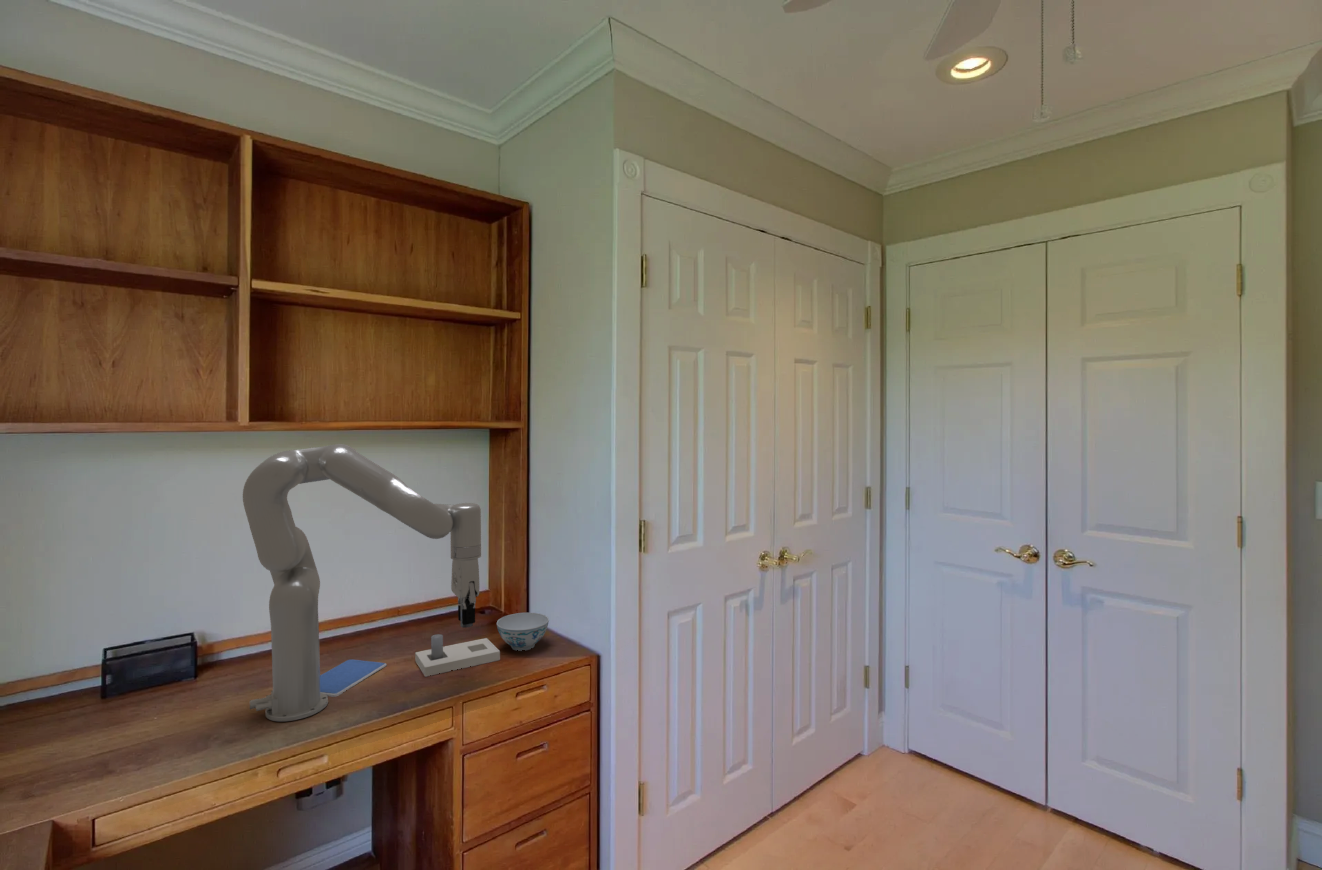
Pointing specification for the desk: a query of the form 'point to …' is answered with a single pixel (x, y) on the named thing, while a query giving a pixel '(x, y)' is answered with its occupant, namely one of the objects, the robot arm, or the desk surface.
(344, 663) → the tablet computer
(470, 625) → the steel pin
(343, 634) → the desk surface
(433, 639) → the pin board
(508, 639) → the chinaware
